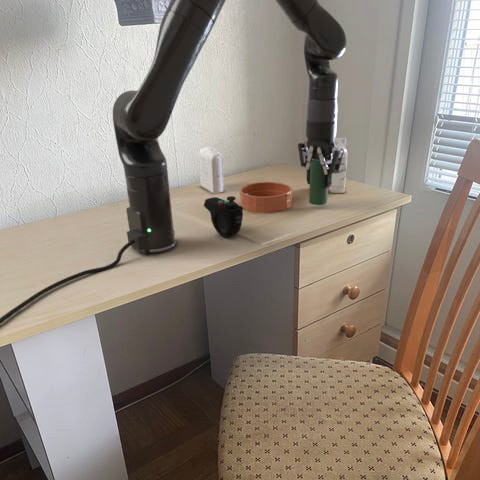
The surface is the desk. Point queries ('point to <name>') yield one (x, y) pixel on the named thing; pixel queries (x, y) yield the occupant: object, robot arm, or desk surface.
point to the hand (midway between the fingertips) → (318, 185)
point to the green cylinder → (317, 184)
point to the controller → (225, 215)
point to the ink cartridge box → (339, 176)
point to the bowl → (266, 197)
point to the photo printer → (211, 170)
